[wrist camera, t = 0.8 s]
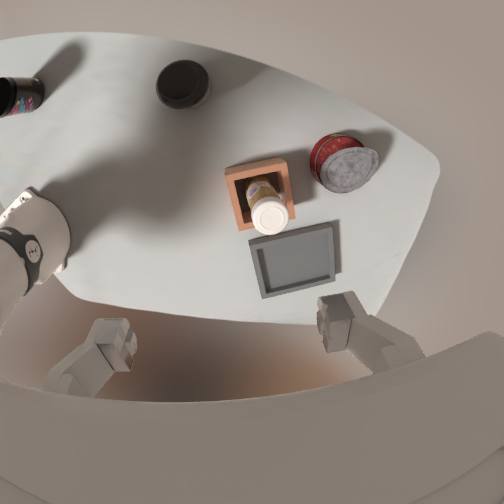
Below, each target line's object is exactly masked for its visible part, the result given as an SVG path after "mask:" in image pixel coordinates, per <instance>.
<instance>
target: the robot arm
mask: <svg viewBox="0 0 504 504" xmlns="http://www.w3.org/2000/svg"><path fill="white" fill-rule="evenodd" d="M69 247H70V232H69V228H68V225H67V222H66V220H65V218H64V216H63V214H62V213H61V212H60V210H59V209H58V208H57V207H56V206H55V205H54V204H53V203H51V202H50V201H48V200H46V199H44V198H40V197H38V196H36V195H35V194H34V193H33V192H32V191H31V190H30V189H26V190H24V191H23V192H22V193H21V194H20V195H19V196H18V197H17V198H16V199H15V200H14V201H13V203H12V204H11V205H10V206H9V207H8V208H7V209H6V210H5V211H4V212H3V214H2V215H1V216H0V336H1V332H2V329H3V327H4V324H5V322H6V320H7V319H8V317H9V315H10V314H11V312H12V310H13V309H14V307H15V305H16V304H17V303H18V302H19V300H20V299H21V297H22V296H25V295H26V294H27V293H28V292H29V291H30V290H31V289H32V288H33V287H34V285H35V284H43V283H44V282H45V281H46V280H47V279H48V277H50V276H51V275H52V273H60V272H62V271H63V270H64V266H65V257H66V255H67V253H68V250H69ZM317 305H318V308H319V311H318V312H317V326H318V330H319V333H320V334H321V335H323V344H324V347H325V350H326V352H327V353H330V352H336V351H341V350H346V351H347V352H349V353H350V354H351V355H352V356H353V357H355V358H356V359H357V360H358V361H360V362H361V363H362V364H363V365H365V366H366V367H367V368H369V369H370V370H371V371H372V372H373V374H372V375H370V376H366V377H363V378H359V379H355V380H351V381H347V382H343V383H339V384H334V385H330V386H325V387H320V388H315V389H310V390H305V391H299V392H293V393H287V394H281V395H273V396H266V397H258V398H249V399H239V400H227V401H211V402H178V403H169V402H168V403H167V402H135V401H119V400H107V399H98V398H93V397H94V396H95V395H96V394H97V392H98V391H99V390H100V389H101V388H102V386H103V385H104V384H105V383H106V382H107V381H108V379H109V378H110V377H111V376H112V375H113V373H114V371H131V367H132V364H133V358H132V355H133V354H134V353H135V352H136V349H137V340H136V336H135V334H134V332H133V331H132V330H130V329H129V326H130V324H129V322H128V320H127V319H125V318H116V319H115V318H114V319H97V320H95V322H94V324H93V326H92V328H91V330H90V332H89V335H88V337H87V339H86V341H85V343H84V344H81V345H80V346H78V347H77V348H76V349H75V350H73V351H72V352H71V353H70V354H69V355H67V356H66V357H65V358H64V359H63V360H61V361H60V362H59V363H58V364H57V365H55V366H54V367H53V368H52V369H51V370H49V372H48V375H47V377H46V379H45V381H44V384H43V386H42V389H37V388H32V387H28V386H24V385H20V384H16V383H12V382H8V381H5V380H2V379H0V504H504V337H503V336H501V335H499V334H496V333H494V332H491V331H487V332H484V333H481V334H479V335H477V336H475V337H473V338H471V339H469V340H467V341H464V342H462V343H460V344H458V345H455V346H453V347H451V348H448V349H446V350H444V351H441V352H439V353H436V354H434V355H431V356H428V357H426V356H425V355H424V353H423V351H422V350H421V348H420V346H419V345H418V343H417V342H416V340H415V339H414V337H412V336H410V335H408V334H406V333H404V332H402V331H401V330H399V329H397V328H395V327H393V326H391V325H389V324H387V323H386V322H384V321H382V320H380V319H378V318H376V317H374V316H372V315H367V313H366V311H365V310H364V308H363V306H362V305H361V303H360V301H359V299H358V298H357V296H356V294H355V293H354V292H353V291H348V292H343V293H339V294H334V295H328V296H322V297H318V302H317Z"/></svg>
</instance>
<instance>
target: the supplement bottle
mask: <svg viewBox="0 0 504 504" xmlns="http://www.w3.org/2000/svg"><path fill="white" fill-rule="evenodd" d="M210 91H211V83H210V79H209V76H208V74H207V72H206V70H205V69H204V68H203V67H202V66H201V65H200V64H199V63H197V62H194V61H191V60H178V61H175V62H173V63H171V64H169V65H167V66H166V67H165V68H164V69H163V70H162V71H161V72H160V74H159V76H158V78H157V81H156V92H157V95H158V97H159V99H160V100H161V102H162V103H164V104H165V105H166V106H168V107H170V108H173V109H193V108H196V107H198V106H200V105H201V104H203V103H204V102H205V101H206V99H207V98H208V96H209V94H210Z"/></svg>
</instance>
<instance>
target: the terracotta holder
mask: <svg viewBox="0 0 504 504" xmlns="http://www.w3.org/2000/svg"><path fill="white" fill-rule="evenodd" d="M275 171H276V172H277V178H278V183H279V189H280V195H281V201H283V202H284V204H285V205H286V207H287V209H288V211H289V220H291V219H295V211H294V204H293V198H292V191H291V185H290V179H289V173H288V167H287V162H285V161H284V160H283V159H282V158H281V157H277V158H271V159H266V160H262V161H257V162H252V163H248V164H243V165H239V166H234V167H230V168H226V169H225V177H226V181H227V185H228V189H229V193H230V197H231V201H232V205H233V209H234V213H235V217H236V221H237V225H238V229H239V231H242V230H246V229H251V228H255V226H254V224H253V221H252V217H251V210H250V211H245V212H241V207H240V203H239V199H238V195H237V191H236V186H235V182H234V180H238V179H243V178H247V177H252V176H256V175H261V174H266V173H271V172H275Z"/></svg>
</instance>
